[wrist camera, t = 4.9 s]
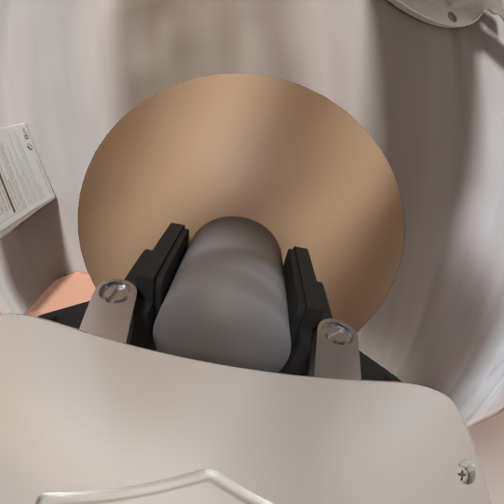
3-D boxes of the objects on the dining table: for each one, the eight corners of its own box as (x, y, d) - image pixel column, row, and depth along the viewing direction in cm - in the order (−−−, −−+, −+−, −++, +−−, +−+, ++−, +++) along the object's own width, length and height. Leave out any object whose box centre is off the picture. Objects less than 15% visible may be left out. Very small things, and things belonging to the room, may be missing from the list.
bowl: (155, 289, 23) (134, 335, 18) (156, 380, 28) (144, 422, 23) (40, 261, 22) (5, 293, 17) (61, 351, 27) (40, 385, 22)
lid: (438, 134, 10) (531, 168, 5) (333, 374, 17) (348, 453, 12) (94, 65, 9) (-3, 61, 4) (99, 333, 16) (62, 405, 11)
